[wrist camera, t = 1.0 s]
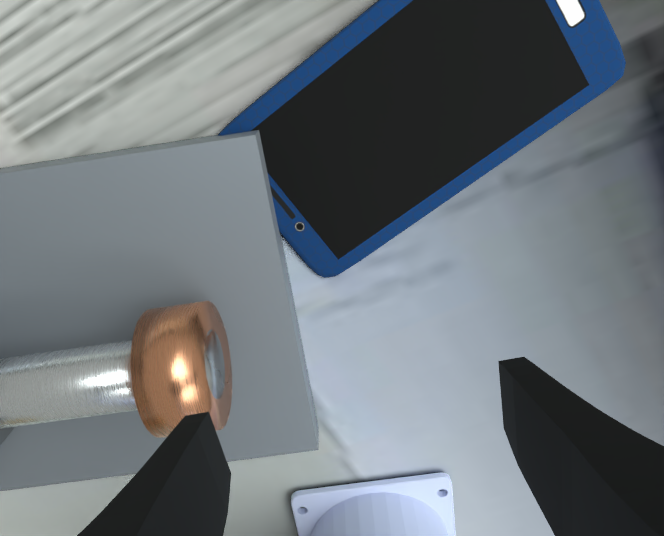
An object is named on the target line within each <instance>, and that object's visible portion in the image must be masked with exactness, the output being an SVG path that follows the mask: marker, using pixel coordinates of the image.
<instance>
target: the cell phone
mask: <svg viewBox="0 0 664 536" xmlns="http://www.w3.org/2000/svg"><path fill="white" fill-rule="evenodd" d="M625 64H626V62H625V59H624V56H623V53H622V49H621V46H620V43H619V41H618V39H617V37H616V35H615V33H614V30H613V28H612V26H611V24H610V22H609V20H608V18H607V16H606V14H605V12H604V10H603V8H602V6H601V4H600V1H599V0H378V1H377V2H376V3H375V4H374V5H372V6H371V7H370V8H369V9H367V10H366V11H365V12H364V13H363V14H361V15H360V16H359V17H358V18H356V19H355V20H354V21H353V22H352V23H350V24H349V25H348V26H347V27H345V28H344V29H343V30H342V31H341V32H339V33H338V34H337V35H336V36H334V37H333V38H332V39H331V40H330V41H328V42H327V43H326V44H325V45H323V46H322V47H321V48H320V49H318V50H317V51H316V52H315V53H314V54H312V55H311V56H310V57H309V58H307V59H306V60H305V61H304V62H303V63H301V64H300V65H299V66H298V67H296V68H295V69H294V70H293V71H292V72H290V73H289V74H288V75H287V76H285V77H284V78H283V79H282V80H281V81H279V82H278V83H277V84H276V85H274V86H273V87H272V88H271V89H270V90H268V91H267V92H266V93H265V94H263V95H262V96H261V97H260V98H259V99H257V100H256V101H255V102H254V103H252V104H251V105H250V106H249V107H248V108H246V109H245V110H244V111H243V112H242V113H241V114H239V115H238V116H237V117H236V118H235V119H234V120H233V121H231V122H230V123H229V124H228V125H227V126H226V127H225V128H224V129H223V130H222V131H221V132H220V133H219V134H218V136H223V135H229V134H236V133H242V132H249V131H255V130H259V133H260V138H261V143H262V148H263V153H264V158H265V163H266V168H267V173H268V178H269V183H270V188H271V193H272V198H273V203H274V208H275V213H276V218H277V223H278V228H279V232H280V233H281V234H282V236H283V237H284V238H285V239H286V240H287V242H288V243H289V244H290V245H291V246H292V247H293V249H294V250H295V251H296V252H297V253H298V255H299V256H300V257H301V258H302V259H303V261H304V262H305V263H306V264H307V265H308V266H309V267H310V268H311V269H312V270H313V271H314V272H316V273H317V274H318V275H320V276H322V277H324V278H326V277H333V276H336V275H338V274H340V273H342V272H343V271H345V270H346V269H348V268H350V267H351V266H353V265H354V264H356V263H357V262H359V261H361V260H362V259H363V258H365V257H366V256H368V255H369V254H371V253H372V252H374V251H375V250H376V249H378V248H379V247H381V246H382V245H384V244H385V243H387V242H388V241H389V240H391V239H392V238H394V237H395V236H397V235H398V234H399V233H401V232H402V231H404V230H405V229H407V228H408V227H410V226H411V225H412V224H414V223H415V222H417V221H418V220H420V219H421V218H423V217H424V216H425V215H427V214H428V213H430V212H431V211H433V210H434V209H436V208H437V207H438V206H440V205H441V204H443V203H444V202H446V201H447V200H449V199H450V198H451V197H453V196H454V195H456V194H457V193H459V192H460V191H461V190H463V189H464V188H466V187H467V186H469V185H470V184H472V183H473V182H474V181H476V180H477V179H479V178H480V177H482V176H483V175H485V174H486V173H487V172H489V171H490V170H492V169H493V168H495V167H496V166H498V165H499V164H500V163H502V162H503V161H505V160H506V159H508V158H509V157H511V156H512V155H513V154H515V153H516V152H518V151H519V150H521V149H522V148H523V147H525V146H526V145H528V144H529V143H531V142H532V141H534V140H535V139H536V138H538V137H539V136H541V135H542V134H544V133H545V132H547V131H548V130H549V129H551V128H552V127H554V126H555V125H557V124H558V123H560V122H561V121H562V120H564V119H565V118H567V117H568V116H570V115H571V114H572V113H574V112H575V111H577V110H578V109H580V108H581V107H583V106H584V105H585V104H587V103H588V102H590V101H591V100H593V99H594V98H596V97H597V96H598V95H600V94H601V93H603V92H604V91H606V90H607V89H608V88H609V87H610V86H612V85H613V84H614V83H615V82H616V81H618V80H619V79H620V78H621V77H622V76H623V73H624V68H625Z"/></svg>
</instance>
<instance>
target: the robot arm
mask: <svg viewBox="0 0 664 536" xmlns="http://www.w3.org/2000/svg"><path fill="white" fill-rule="evenodd" d="M499 373H500V386H501V398H502V411H503V424H504V430H505V432H506V435H507V438H508V440H509V443H510V446H511V448H512V451H513V454H514V456H515V459H516V461H517V464H518V466H519V468H520V470H521V472H522V474H523V476H524V478H525V480H526V482H527V484H528V485H529V487H530V489H531V491H532V493H533V495H534V497H535V499H536V501H537V503H538V504H539V506H540V508H541V510H542V512H543V514H544V516H545V518H546V520H547V521H548V523H549V525H550V527H551V529H552V531H553V533H554V535H555V536H664V446H662V445H660V444H658V443H656V442H654V441H652V440H650V439H648V438H646V437H644V436H643V435H641V434H639V433H637V432H635V431H633V430H632V429H630V428H628V427H626V426H625V425H623V424H621V423H620V422H618V421H616V420H615V419H613V418H611V417H610V416H608V415H606V414H605V413H603V412H602V411H600V410H598V409H597V408H595V407H594V406H592V405H591V404H589V403H588V402H586V401H585V400H583V399H582V398H580V397H579V396H577V395H576V394H575V393H573V392H572V391H570V390H569V389H567V388H566V387H565V386H563V385H562V384H560V383H559V382H558V381H556V380H555V379H554V378H552V377H551V376H550V375H548V374H547V373H545V372H544V371H543V370H541V369H540V368H539V367H537V366H536V365H535V364H533V363H532V362H531V361H529V360H528V359H526V358H525V357H520V358H514V359H509V360H503V361H499ZM230 480H231V472H230V469H229V466H228V464H227V461H226V458H225V455H224V452H223V450H222V447H221V444H220V441H219V438H218V436H217V433H216V430H215V427H214V424H213V422H212V419H211V416H210V413H209V412H204V413H198V414H192V415H186V416H185V417H184V418H183V419H182V420H181V421H180V422H179V423H178V425H177V426H176V427H175V428H174V429H173V431H172V432H171V433H170V434H169V435H168V437H167V438H166V439H165V440H164V441H163V443H162V444H161V445H160V446H159V448H158V449H157V450H156V451H155V452H154V454H153V455H152V456H151V457H150V458H149V459H148V461H147V462H146V463H145V464H144V465H143V467H142V468H141V469H140V470H139V471H138V472H137V474H136V475H135V476H134V477H133V478H132V479H131V480H130V482H129V483H128V484H127V485H126V486H125V487H124V488H123V489H122V490H121V491H120V492H119V494H118V495H117V496H116V497H115V498H114V499H113V500H112V501H111V502H110V503H109V504H108V506H107V507H106V508H105V509H104V510H103V511H102V512H101V513H100V514H99V515H98V516H97V517H96V518H95V519H94V520H93V521H92V522H91V523H90V524H89V525H88V526H87V527H86V528H85V529H84V530H83V531H82V532H80V533H79V534H78V535H77V536H223V533H224V528H225V523H226V518H227V513H228V504H229V493H230ZM441 489H444V490H442V491H439V490H441ZM291 506H292V510H293V514H294V519H295V523H296V527H297V531H298V535H299V536H456V532H455V519H454V505H453V492H452V482H451V479H450V476H449V475H448V474H446V473H432V474H424V475H416V476H408V477H401V478H393V479H385V480H377V481H369V482H361V483H353V484H346V485H338V486H330V487H322V488H314V489H306V490H299V491H296V492H294V493H293V494H292V496H291ZM300 507H305V508H300Z"/></svg>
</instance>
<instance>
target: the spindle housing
mask: <svg viewBox="0 0 664 536" xmlns="http://www.w3.org/2000/svg"><path fill="white" fill-rule="evenodd" d="M202 301H210V302H212V303H213V304H214V305H215V307H216V308H217V310H218V312H219V314H220V316H221V319H222V321H223V324H224V328H225V331H226V335H227V339H228V345H229V350H230V358H231V367H232V401H231V409H230V414H229V418H228V421H227V423H226V425H225V427H224V428H223V429H221V430H216V433H217V436H218V438H219V441H220V444H221V447H222V450H223V452H224V455H225V458H226V461H227V462H229V461H236V460H244V459H252V458H259V457H267V456H275V455H283V454H290V453H298V452H306V451H313V450H318V423H317V418H316V413H315V407H314V402H313V397H312V392H311V387H310V382H309V377H308V372H307V366H306V361H305V356H304V351H303V346H302V341H301V336H300V331H299V326H298V320H297V315H296V310H295V305H294V300H293V295H292V290H291V285H290V279H289V274H288V269H287V264H286V259H285V254H284V249H283V244H282V238H281V233H280V232H279V228H278V223H277V218H276V213H275V208H274V203H273V198H272V193H271V188H270V183H269V178H268V173H267V168H266V163H265V158H264V153H263V148H262V143H261V138H260V133H259V130H255V131H249V132H242V133H236V134H229V135H223V136H218V135H214V136H208V137H201V138H195V139H188V140H182V141H175V142H169V143H162V144H156V145H149V146H143V147H136V148H130V149H123V150H117V151H110V152H104V153H97V154H91V155H84V156H78V157H71V158H65V159H58V160H51V161H45V162H38V163H32V164H25V165H19V166H12V167H6V168H0V359H2V358H9V357H16V356H24V355H31V354H38V353H45V352H52V351H59V350H67V349H74V348H81V347H88V346H95V345H102V344H110V343H117V342H124V341H131V340H132V339H133V334H134V330H135V327H136V324H137V322H138V320H139V318H140V316H141V315H142V314H143V313H144V312H145V311H146V310H148V309H152V308H160V307H167V306H174V305H181V304H188V303H195V302H202ZM166 438H167V437H163V438H158V437H155V436H153V435H152V434H151V433H150V432H149V431H148V430H147V429H146V427H145V426H144V424H143V422H142V420H141V418H140V415H139V413H138V410H136V411H128V412H121V413H113V414H106V415H98V416H91V417H84V418H76V419H69V420H61V421H54V422H46V423H39V424H31V425H24V426H17V427H9V428H2V429H0V491H5V490H13V489H21V488H28V487H36V486H44V485H52V484H59V483H67V482H75V481H82V480H90V479H98V478H105V477H113V476H121V475H129V474H136V473H137V472H138V471H139V470H140V469H141V468H142V467H143V465H144V464H145V463H146V462H147V461H148V459H149V458H150V457H151V456H152V455H153V454H154V452H155V451H156V450H157V449H158V448H159V446H160V445H161V444H162V443H163V441H164V440H165V439H166Z"/></svg>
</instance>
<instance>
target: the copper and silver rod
mask: <svg viewBox="0 0 664 536" xmlns="http://www.w3.org/2000/svg"><path fill="white" fill-rule="evenodd" d="M231 401H232V367H231V358H230V350H229V345H228V339H227V335H226V331H225V328H224V324H223V321H222V319H221V316H220V314H219V312H218V310H217V308H216V307H215V305H214V304H213V303H212V302H210V301H202V302H195V303H188V304H181V305H174V306H167V307H160V308H152V309H148V310H146V311H145V312H144V313H143V314H142V315H141V316H140V318H139V320H138V322H137V324H136V327H135V330H134V334H133V339H132V340H131V341H124V342H117V343H110V344H102V345H95V346H88V347H81V348H74V349H67V350H59V351H52V352H45V353H38V354H31V355H24V356H16V357H9V358H2V359H0V429H2V428H9V427H17V426H24V425H31V424H39V423H46V422H54V421H61V420H69V419H76V418H84V417H91V416H98V415H106V414H113V413H121V412H128V411H136V410H138V413H139V415H140V418H141V420H142V422H143V424H144V426H145V427H146V429H147V430H148V431H149V432H150V433H151V434H152V435H153V436H155V437H158V438H163V437H168V435H169V434H170V433H171V432H172V431H173V429H174V428H175V427H176V426H177V425H178V423H179V422H180V421H181V420H182V419H183V418H184V417H185V416H186V415H192V414H198V413H204V412H209V413H210V416H211V419H212V422H213V424H214V427H215V430H221V429H223V428H224V427H225V425H226V423H227V421H228V418H229V414H230V409H231Z"/></svg>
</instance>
